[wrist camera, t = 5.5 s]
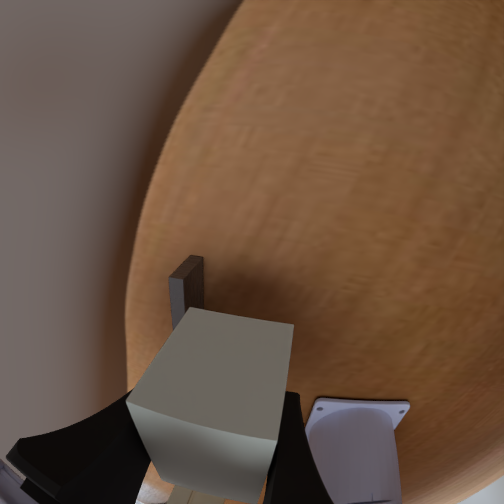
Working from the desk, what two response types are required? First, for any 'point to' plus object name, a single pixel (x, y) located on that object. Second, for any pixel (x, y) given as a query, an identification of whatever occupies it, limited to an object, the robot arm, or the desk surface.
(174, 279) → the price rail
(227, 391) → the carton
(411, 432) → the desk surface
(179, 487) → the skincare box
